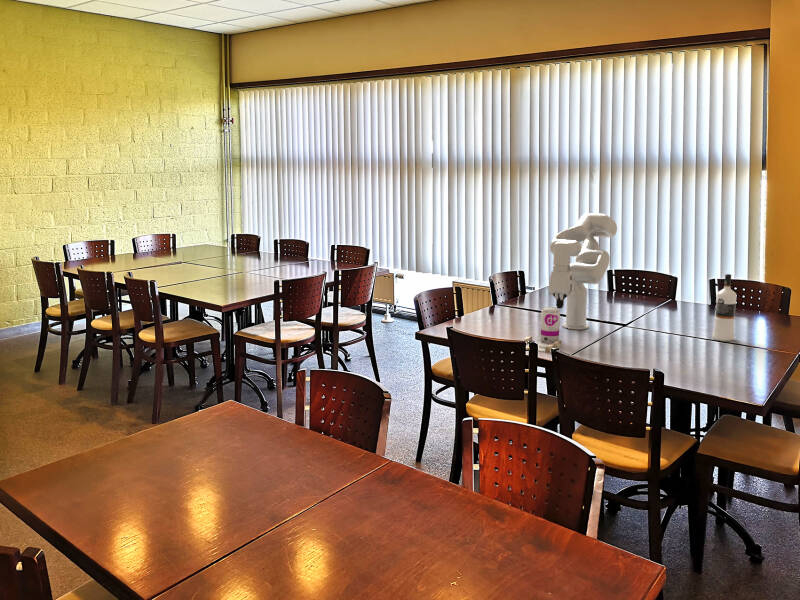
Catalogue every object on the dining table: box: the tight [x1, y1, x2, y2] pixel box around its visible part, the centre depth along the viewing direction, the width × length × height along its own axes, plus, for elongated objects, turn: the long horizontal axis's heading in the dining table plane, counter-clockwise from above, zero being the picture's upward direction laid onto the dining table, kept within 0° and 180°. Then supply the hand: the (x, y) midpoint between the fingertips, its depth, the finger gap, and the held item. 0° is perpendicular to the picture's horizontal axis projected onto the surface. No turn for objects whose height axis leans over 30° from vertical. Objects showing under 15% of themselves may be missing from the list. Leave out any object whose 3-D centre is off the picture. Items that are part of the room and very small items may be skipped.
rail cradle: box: [521, 335, 562, 354], centre depth 322 cm, size 14×16×2 cm
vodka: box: [711, 273, 738, 342], centre depth 330 cm, size 9×9×30 cm
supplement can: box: [540, 306, 561, 343], centre depth 331 cm, size 8×8×15 cm
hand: (559, 307), depth 339 cm, fingers closed
